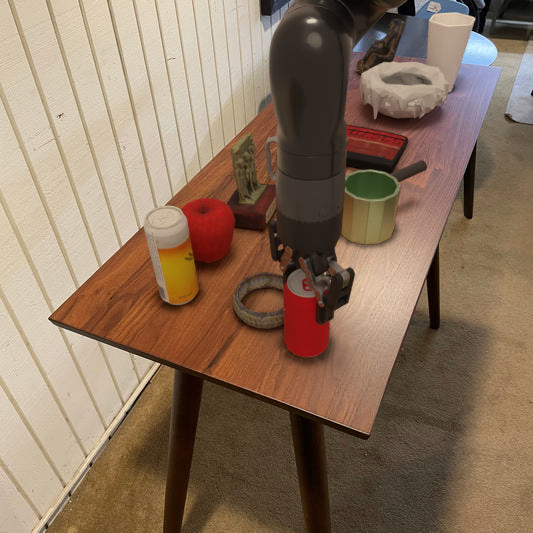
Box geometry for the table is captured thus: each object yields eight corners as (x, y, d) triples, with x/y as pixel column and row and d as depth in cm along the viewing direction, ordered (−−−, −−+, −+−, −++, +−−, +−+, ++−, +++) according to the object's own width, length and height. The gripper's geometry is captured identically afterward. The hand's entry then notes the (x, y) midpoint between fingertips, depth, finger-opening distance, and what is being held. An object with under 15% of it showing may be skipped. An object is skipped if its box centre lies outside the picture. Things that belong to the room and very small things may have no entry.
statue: (358, 68, 147) (363, 12, 137) (400, 73, 144) (407, 16, 134) (353, 76, 144) (357, 19, 134) (395, 81, 140) (403, 23, 130)
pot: (397, 191, 100) (403, 149, 94) (435, 214, 94) (445, 171, 88) (327, 224, 93) (329, 181, 87) (364, 251, 87) (369, 207, 81)
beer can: (207, 291, 81) (195, 214, 71) (178, 313, 78) (161, 235, 68) (181, 275, 84) (166, 198, 74) (152, 295, 81) (132, 218, 71)
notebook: (393, 165, 103) (296, 147, 110) (391, 175, 104) (295, 156, 111) (411, 133, 114) (321, 118, 121) (409, 143, 115) (321, 128, 122)
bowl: (368, 91, 136) (372, 52, 129) (448, 100, 130) (456, 60, 123) (348, 125, 121) (351, 84, 115) (437, 138, 115) (445, 95, 109)
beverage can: (325, 325, 75) (329, 263, 67) (331, 359, 70) (336, 297, 62) (283, 327, 75) (281, 265, 67) (285, 361, 70) (284, 299, 62)
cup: (454, 98, 130) (470, 28, 119) (414, 93, 134) (426, 23, 122) (462, 82, 138) (477, 14, 126) (424, 77, 141) (435, 10, 130)
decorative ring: (223, 324, 76) (289, 338, 73) (221, 309, 73) (289, 323, 71) (246, 279, 83) (306, 290, 80) (245, 264, 81) (306, 275, 78)
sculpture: (265, 233, 91) (262, 159, 81) (223, 226, 93) (215, 153, 84) (281, 203, 98) (279, 131, 88) (241, 197, 100) (235, 126, 90)
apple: (229, 232, 92) (223, 180, 85) (245, 265, 85) (241, 211, 78) (175, 246, 90) (164, 194, 82) (188, 280, 83) (178, 227, 76)
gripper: (381, 217, 53) (366, 325, 64) (297, 161, 62) (296, 265, 73) (325, 245, 50) (319, 353, 61) (245, 182, 59) (253, 286, 70)
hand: (307, 305), depth 67 cm, fingers closed on beverage can, 6 cm apart
